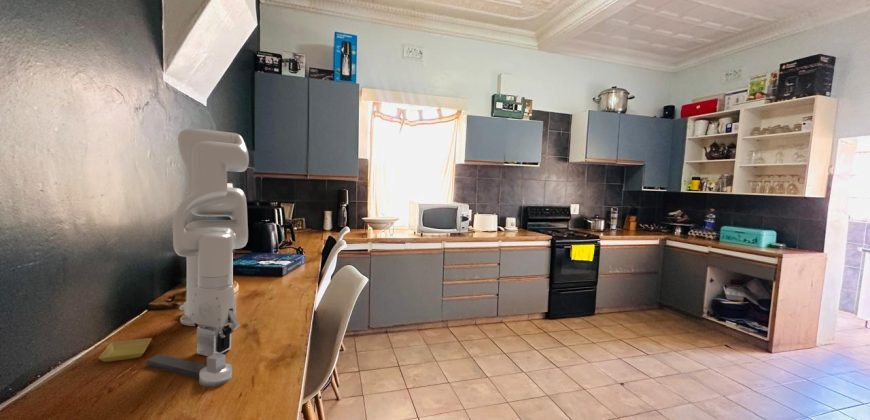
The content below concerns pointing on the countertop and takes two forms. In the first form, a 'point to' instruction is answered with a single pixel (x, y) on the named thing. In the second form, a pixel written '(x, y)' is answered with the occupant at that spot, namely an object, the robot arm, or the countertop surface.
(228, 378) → the ratchet
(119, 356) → the flat yellow-green tile
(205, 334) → the white block
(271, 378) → the countertop surface
